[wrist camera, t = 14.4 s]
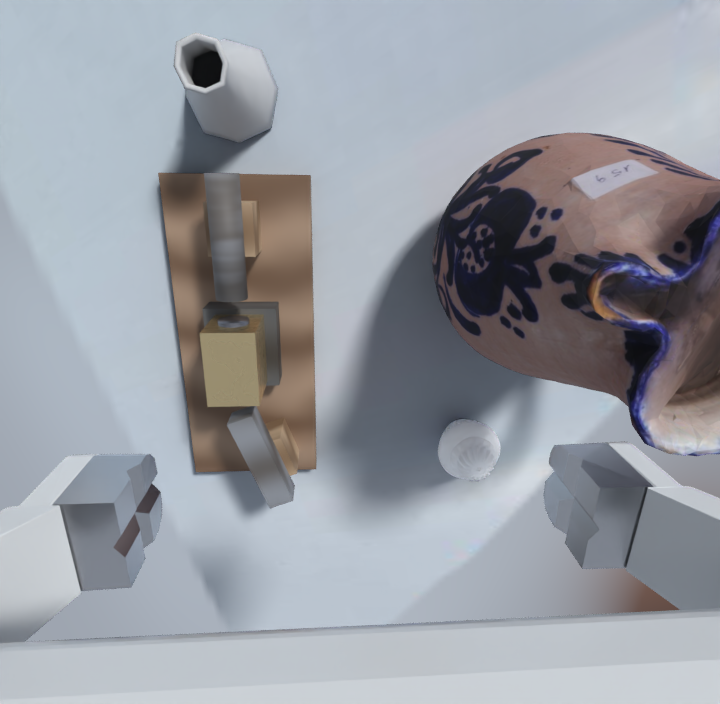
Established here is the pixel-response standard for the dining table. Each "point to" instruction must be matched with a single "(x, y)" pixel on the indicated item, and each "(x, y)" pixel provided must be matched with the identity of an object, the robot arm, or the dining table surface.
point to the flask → (226, 86)
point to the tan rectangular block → (234, 360)
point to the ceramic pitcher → (594, 277)
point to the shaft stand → (247, 297)
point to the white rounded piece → (468, 449)
